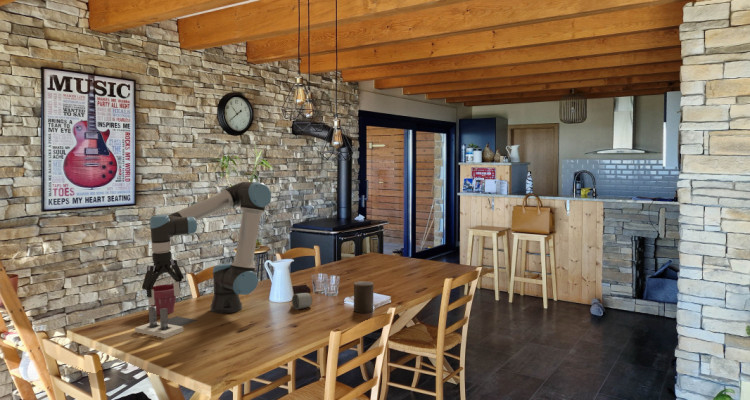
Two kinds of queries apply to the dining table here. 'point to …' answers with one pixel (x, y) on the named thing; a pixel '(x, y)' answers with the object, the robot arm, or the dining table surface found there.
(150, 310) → the seated peg
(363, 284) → the pillar candle
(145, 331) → the hole board
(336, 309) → the dining table surface
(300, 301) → the grey cylinder
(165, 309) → the peg
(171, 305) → the plant pot
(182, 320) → the mat
